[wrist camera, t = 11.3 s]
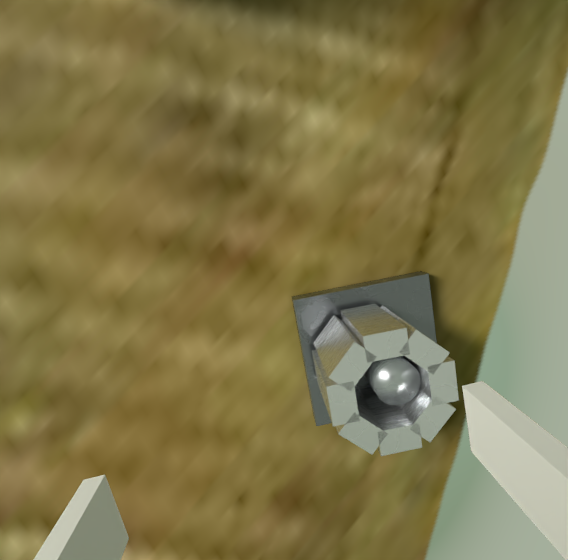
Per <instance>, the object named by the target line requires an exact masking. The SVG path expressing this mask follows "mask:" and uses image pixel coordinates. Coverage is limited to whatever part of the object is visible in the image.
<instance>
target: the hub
mask: <svg viewBox="0 0 568 560" xmlns="http://www.w3.org/2000/svg"><path fill="white" fill-rule="evenodd" d="M340 311H341V317H342V320H341V319H339V318H338V317H336V316H335V315H333V317H332V318H331V319H330V321H329V322H328V324H327V325H326V326H325V328H324V329H323V330H322V332H321V333H320V335H319V336H318V337H317V339H316V340H315V342H314V346H315V348H316V350H312V355H313V361H314V366H315V372H316V377H317V383H318V386H319V388H320V391H321V394H322V397H323V400H324V402H325V405H326V408H327V411H328V414H329V416H330V419H331V422H332V425H333V426H335V427H336V429H337V432H338V434H339V435H341V436H342V437H344V438H346V439H347V440H349V441H351V442H352V443H354V444H356V445H357V446H359V447H360V448H362V449H364V450H365V451H367V452H369V453H370V454H373V453H374V452H375V450H376V449H378V451H379V453H380V455H381V456H384V455H389V454H393V453H398V452H403V451H407V450H412V449H417V448H422V442H421V437H423V438H424V439H426V440H427V441H429V442H431V441H432V439H433V438H434V437H435V436H436V434H437V433H438V432H439V431H440V429H441V428H442V427H443V425H444V424H445V423H446V422H447V420H448V419H449V418H450V416H451V415H452V414H453V413H454V411H455V410H456V409H455V408H454V407H453V406H452V405H451V404H450V403H449V402H454V401H459V398H458V389H457V379H456V370H455V361H454V360H453V359H452V358H450V357H449V356H448V355H449V352H448V351H447V350H445V349H444V348H442V347H441V346H440V345H438V344H437V343H435V342H434V341H433V340H431V339H430V338H428V337H427V336H426V335H424V334H423V333H421V332H420V331H419V330H417V329H416V328H414V327H413V326H412V325H410V324H409V323H407V322H406V321H405V320H403V319H402V318H400V317H399V316H397V315H396V314H394V313H393V312H391V311H390V310H389V309H387V308H386V307H384V306H383V305H382V306H381V308H380V307H379V306H377V305H376V304H371V305H366V306H361V307H356V308H351V309H345V310H340ZM399 356H403V357H404V358H405V359H406V360H408V361H409V362H410V363H411V364H412V365H413V366H414V367H415V368H416V370H417V371H418V373H419V375H420V388H419V391H418V393H417V394H416V396H415V397H414V398H413V399H412V400H411V401H409V402H407V403H405V404H402V405H396V406H394V405H389V404H386V403H384V402H383V401H381V400H380V399H379V397H378V396H377V394H376V393H375V391H374V390H373V388H372V387H371V385H370V384H367V385H362V386H356V384H357V383H358V381H359V380H360V379H361V377H362V376H363V375H364V373H365V372H366V371H367V369H368V368H369V367H370V365H371V364H372V362H374V361H379V360H384V359H389V358H394V357H399Z"/></svg>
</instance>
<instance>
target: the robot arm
mask: <svg viewBox="0 0 568 560" xmlns="http://www.w3.org/2000/svg"><path fill="white" fill-rule="evenodd" d="M462 389H463V396H464V403H465V410H466V417H467V424H468V431H469V439H470V446H471V452H472V453H473V454H474V455H475V456H476V457H477V459H479V461H480V462H481V463H482V464H483V466H484V467H485V468H486V469H487V470H488V471H489V472H490V473H491V474H492V476H493V477H494V478H495V479H496V480H497V482H498V483H499V484H500V485H501V486H502V487H503V488H504V490H505V491H506V492H507V493H508V494H509V495H510V497H511V498H512V499H513V500H514V501H515V502H516V503H517V504H518V505H519V507H520V508H521V509H522V510H523V511H524V513H525V514H526V515H527V516H528V517H529V518H530V520H531V521H532V522H533V523H534V524H535V525H536V526H537V528H538V529H539V530H540V531H541V532H542V533H543V534H544V536H545V537H546V538H547V539H548V540H549V541H550V542H551V544H552V545H553V546H554V547H555V548H556V549H557V551H558V552H559V553H560V554H561V555H562V556H563V557H564V558H565V560H568V447H566V446H565V445H564V444H563V443H561V442H560V441H559V440H558V439H556V438H555V437H553V436H552V435H551V434H550V433H548V432H547V431H546V430H545V429H544V428H542V427H541V426H540V425H538V424H537V423H536V422H535V421H533V420H532V419H531V418H529V417H528V416H527V415H525V414H524V413H523V412H522V411H520V410H519V409H518V408H517V407H515V406H514V405H513V404H511V403H510V402H509V401H508V400H506V399H505V398H504V397H502V396H501V395H500V394H499V393H497V392H496V391H495V390H494V389H492V388H491V387H490V386H488V385H487V384H486V383H485V382H483V381H480V382H476V383H472V384H468V385H464V386H462ZM128 539H129V537H128V534H127V532H126V529H125V527H124V524H123V521H122V519H121V516H120V513H119V511H118V508H117V505H116V503H115V500H114V497H113V495H112V492H111V489H110V487H109V484H108V481H107V479H106V476H105V475H101V476H97V477H93V478H89V479H85V480H83V482H82V483H81V485H80V486H79V488H78V490H77V491H76V493H75V494H74V496H73V498H72V499H71V501H70V502H69V504H68V506H67V507H66V509H65V510H64V512H63V514H62V515H61V517H60V518H59V520H58V522H57V523H56V525H55V526H54V528H53V530H52V531H51V533H50V534H49V536H48V537H47V539H46V541H45V542H44V544H43V545H42V547H41V549H40V550H39V552H38V553H37V555H36V557H35V558H34V560H121V557H122V555H123V552H124V550H125V547H126V544H127V542H128Z"/></svg>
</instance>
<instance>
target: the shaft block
mask: <svg viewBox="0 0 568 560" xmlns="http://www.w3.org/2000/svg"><path fill="white" fill-rule="evenodd" d="M292 301H293V307H294V312H295V317H296V323H297V328H298V333H299V339H300V344H301V350H302V355H303V360H304V366H305V371H306V376H307V382H308V387H309V393H310V398H311V403H312V409H313V414H314V419H315V422H316V426H320V425H324V424H329V423H332V422H331V419H330V416H329V414H328V411H327V408H326V405H325V402H324V400H323V397H322V394H321V391H320V388H319V386H318V383H317V377H316V372H315V366H314V361H313V355H312V350H316V348H315V346H314V342H315V340H316V339H317V337H318V336H319V335H320V333H321V332H322V330H323V329H324V328H325V326H326V325H327V324H328V322H329V321H330V319H331V318H332V317H333V315H335V316H336V317H338V318H339V319H341V320H342V317H341V311H340V310H345V309H351V308H356V307H361V306H366V305H371V304H376V305H377V306H379V307H380V308H381V306H382V305H383V306H384V307H386V308H387V309H389V310H390V311H391V312H393V313H394V314H396V315H397V316H399V317H400V318H402V319H403V320H405V321H406V322H407V323H409V324H410V325H412V326H413V327H414V328H416V329H417V330H419V331H420V332H421V333H423V334H424V335H426V336H427V337H428V338H430V339H431V340H433V341H434V342H435V343H437V341H436V333H435V324H434V316H433V307H432V299H431V290H430V282H429V274H428V273H425V272H422V271H420V272H415V273H410V274H404V275H399V276H394V277H389V278H384V279H379V280H374V281H369V282H364V283H359V284H354V285H349V286H344V287H338V288H333V289H328V290H323V291H318V292H313V293H308V294H303V295H298V296H293V297H292ZM367 384H370V385H371V387H372V388H373V390H374V391H375V393H376V394H377V396H378V397H379V399H380V400H381V401H383V402H384V403H386V404H389V405H394V406H396V405H402V404H405V403H407V402H409V401H411V400H412V399H413V398H414V397H415V396H416V394H417V393H418V391H419V388H420V375H419V373H418V371H417V370H416V368H415V367H414V366H413V365H412V364H411V363H410V362H409V361H408V360H406V359H405V358H404V357H403V356H399V357H394V358H389V359H384V360H379V361H374V362H372V364H371V365H370V367H369V368H368V369H367V371H366V372H365V373H364V375H363V376H362V377H361V379H360V380H359V381H358V383H357V384H356V386H362V385H367Z"/></svg>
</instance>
